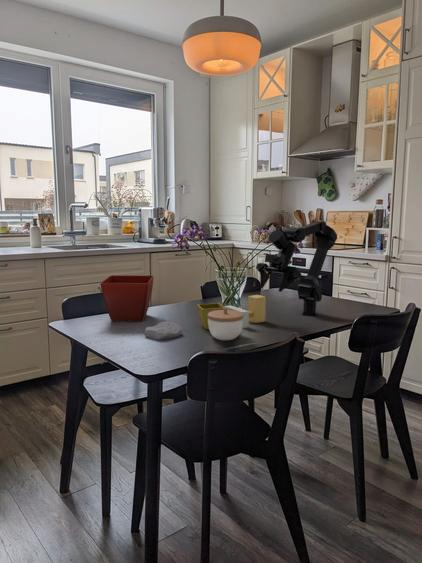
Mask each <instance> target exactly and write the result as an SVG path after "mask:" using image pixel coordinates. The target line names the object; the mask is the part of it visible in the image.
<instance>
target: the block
mask: <svg viewBox="0 0 422 563" xmlns="http://www.w3.org/2000/svg"><path fill="white" fill-rule="evenodd" d="M266 309H267V308H266V296H264V295H259V294H253V295H248V296H247V311H249V322H251V323H255V324H256V323H264V322H266Z"/></svg>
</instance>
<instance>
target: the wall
mask: <svg viewBox="0 0 422 563" xmlns="http://www.w3.org/2000/svg"><path fill="white" fill-rule="evenodd" d="M224 307H225V308H227V310H233V311H238V312H241V313H243V325H242V329H247V328H249V326H250V325H249V322H250V321H249V311H248V310H245V309H243V308H239V307H237V306H234V305H227V306H226V305H225V306H224Z"/></svg>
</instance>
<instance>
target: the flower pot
mask: <svg viewBox="0 0 422 563" xmlns="http://www.w3.org/2000/svg"><path fill="white" fill-rule="evenodd" d="M196 306H197V312H198V318H199V321H200V323H201V325H202V327H203V328H204V329H205V330H209V326H208V313H209V312H212V311H217V310H224V308H225V306H223V305H222V304H221V303H219V302H212V303H211V302H210V303H201V304H196Z"/></svg>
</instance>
